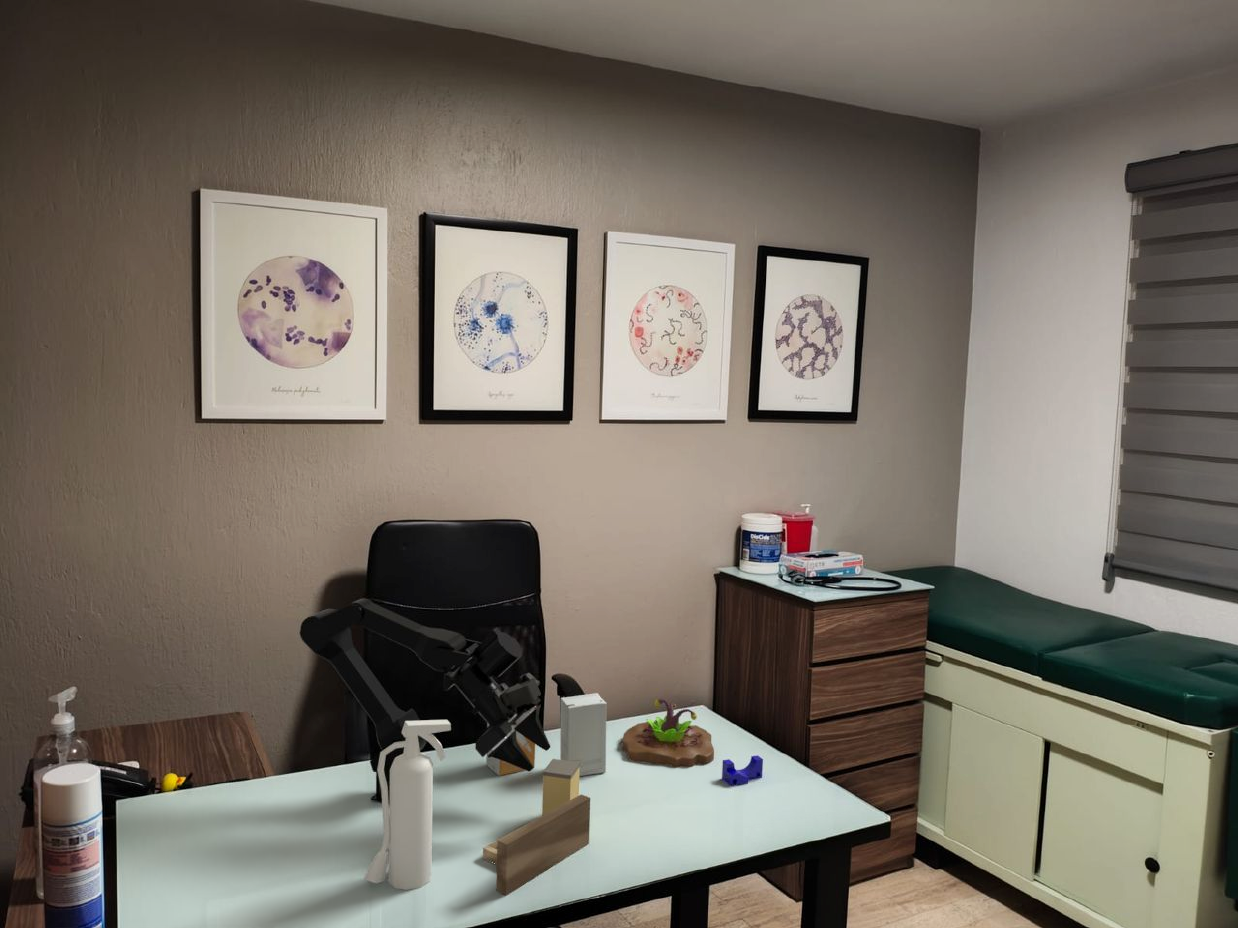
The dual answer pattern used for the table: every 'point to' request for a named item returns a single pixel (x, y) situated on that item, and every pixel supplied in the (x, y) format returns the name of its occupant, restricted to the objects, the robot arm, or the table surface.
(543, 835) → the wall board
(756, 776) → the cable holder
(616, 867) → the table surface
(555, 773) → the grey-topped square block
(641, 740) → the plant
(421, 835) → the fire extinguisher
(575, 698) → the skincare box
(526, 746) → the small box
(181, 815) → the table surface
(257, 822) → the table surface
